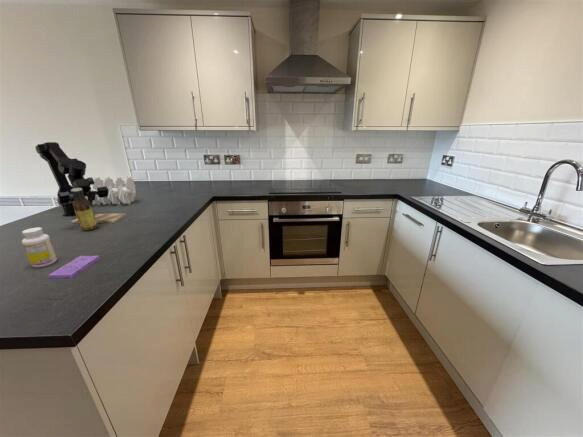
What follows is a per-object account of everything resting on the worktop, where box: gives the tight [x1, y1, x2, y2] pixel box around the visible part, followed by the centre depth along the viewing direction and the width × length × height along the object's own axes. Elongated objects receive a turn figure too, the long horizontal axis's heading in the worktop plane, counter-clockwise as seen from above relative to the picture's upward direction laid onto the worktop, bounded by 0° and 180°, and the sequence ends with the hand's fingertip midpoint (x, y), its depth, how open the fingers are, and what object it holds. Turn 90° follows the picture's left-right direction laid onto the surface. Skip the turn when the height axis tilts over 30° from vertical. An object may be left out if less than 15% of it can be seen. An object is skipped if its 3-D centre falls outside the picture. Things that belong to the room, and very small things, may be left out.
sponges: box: [48, 255, 101, 279], centre depth 82 cm, size 7×13×2 cm, turn 1°
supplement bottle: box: [21, 226, 58, 268], centre depth 83 cm, size 7×7×13 cm
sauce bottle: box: [71, 188, 98, 231], centre depth 110 cm, size 7×6×20 cm
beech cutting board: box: [71, 212, 127, 224], centre depth 128 cm, size 20×11×1 cm, turn 95°
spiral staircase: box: [85, 176, 137, 206], centre depth 152 cm, size 18×18×25 cm
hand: (91, 208), depth 114 cm, fingers closed
